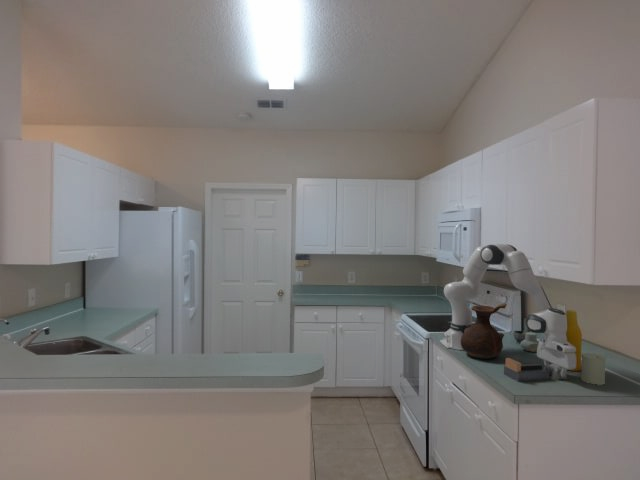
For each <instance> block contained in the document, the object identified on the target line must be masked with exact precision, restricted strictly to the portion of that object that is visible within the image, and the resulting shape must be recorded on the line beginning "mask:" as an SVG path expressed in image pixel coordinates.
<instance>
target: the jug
mask: <svg viewBox="0 0 640 480" xmlns="http://www.w3.org/2000/svg"><path fill="white" fill-rule="evenodd" d="M506 307H507V303H501V304H498V305H497V306H495V307H492V306H489V305H473V306H471V307H470V309H471V310H472V312H473V311H474V312H475V315H476V318H475V319H476V320H475V323H472V324H473V325H471V326H470V327H469V328H468V329H466V331H465V332H464V333H463V335H462V337H461V346H462V348H463V349H464V350H463V351H464V352H465V353H466V354H467V355H469V356H470V357H473V358H476V359H480V360H481V359H482V360H484V359H485V360H489V359H492V358H494V357H496V356H497V357H498V356H499V354H500V353H501V352H502V350H503V348H504V343H503V338H504V337H505V334H504V333H501V332H499V331H498V330H497V329H496V328H495V327H494V326H493V325H492V324H491V316H492V315H493V314H495V313H497V312H498V311H499V310H500V309H506Z"/></svg>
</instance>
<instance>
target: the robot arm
mask: <svg viewBox="0 0 640 480" xmlns="http://www.w3.org/2000/svg"><path fill="white" fill-rule="evenodd" d="M495 265H496V266H500V265H501V266H502V265H503V266H504V267H505V268H506V270H507V274H508V277H509V280H510V281H511V284H512V285H513V286H514V287H515V288H516V289H518V290H520V291H523V292H524V293H525V292H526V293H527V294H528V295H530V296H531V297H532V300H533V301H534V304H535V306H536V308H537V309H538V312H534V313H533V312H532V313H530V314H528V315H527V316H526V317H525V321H524V325H525V327H526V328H527V329H528V330H529V331H530V332H531V333H536V334H544V339H543V338H541V339H540V340H538V342H539V344H538V348H537V351H536V356H537V358H539V359H541V360H543V365H545V364H556V365H558V366H561V369H562V371H561V372H560V374H559V375H560V376H562V377H564V376H565V373H566V371H569V370H573V369H575V368H576V355H575V353H574V352H576V348H575V347H574V346H573V345H571V344H570V343H569V342H568V341H567V337H566V331H567V317H566V312H565V311H563V310H561V309H559V308H553V307H552V305H551V302H550V300H549V298H548V296H547V294H546V292H545V290H544V288H543V286H542V285H541V283H540V282H539V281H538V279H537V277H536V275H535V273H534V270H533V269H532V265H531V263H530V261H529V259H528V257H527V256H526V254H525V253H524V252H523V251H521V250H518V249H517V248H516V247H515V246H513V245H511V244H503V243H497V244H496V243H495V244H487V245H480V246H478V247H476V249H474V250H473V252H472V253H471V255H470V257H469V259H468V260H467V262H466V263H465V265H464V267H463V268H462V274H463V275H464V276H463V279H462V280H461V281H452V282H449V283H447V284H446V285H445V286H444V288H443V294H444V295H443V296H445V298H446V299H447V300H448V302H449V303H450V306H451V307H450V308H451V313H452V314H451V322H450V324H449V325H450V328H449V329H447V331H445V332H444V334H443V338H442V339H440V340H439V342H440V343H441V344H442V346H444V347H445V348H447V349H453V350H459V351H464V349H463V348H462V346H461V337H462V335H463V333H464V332H465V331H466V329H468V328H469V327H470V326H471V325H473V324H474V323H473V310H472V309H471V307H469V306H468V302H467V301H468V300H474V299H476V298H478V297H479V296H481V295H482V287H481V281H482V279H483V277H484V275H485V274H486V271H487V270H488V268H489V267H490V266H495ZM566 374H567V373H566Z"/></svg>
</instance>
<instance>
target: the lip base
mask: <svg viewBox="0 0 640 480" xmlns="http://www.w3.org/2000/svg"><path fill="white" fill-rule="evenodd" d="M503 375H505V376H507V377H508V378H510V379H513V380H514V381H516V382H519V383H521V382H536V381H546V380H547V381H549V380H550V375H549V371H548V370H546V369H544V364H541V363H528V364H527V363H526V364H522V363H521V362H519V361H517V360H515V359H513V358H511V357H506V358H505V365H503Z"/></svg>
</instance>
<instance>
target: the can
mask: <svg viewBox="0 0 640 480" xmlns="http://www.w3.org/2000/svg"><path fill="white" fill-rule="evenodd" d="M606 360H607V359H606V357H605V356H603V355H600V354H597V353H587V352H586V353H581V375H580V376H581V377H580V380H581V381H582V382H584V383H586V382H587V384H590V383H591V384H590V385H595V384H597V386H603V384H604V385H605V384H606Z"/></svg>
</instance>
